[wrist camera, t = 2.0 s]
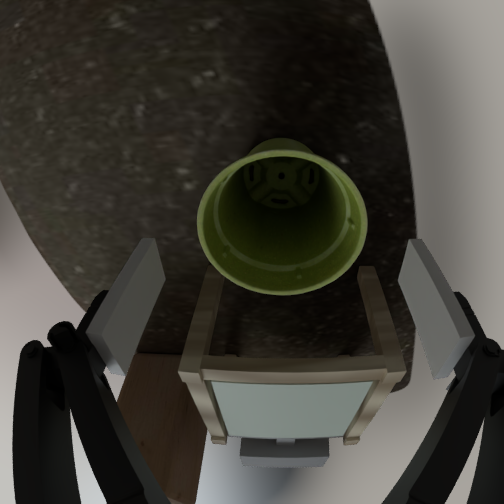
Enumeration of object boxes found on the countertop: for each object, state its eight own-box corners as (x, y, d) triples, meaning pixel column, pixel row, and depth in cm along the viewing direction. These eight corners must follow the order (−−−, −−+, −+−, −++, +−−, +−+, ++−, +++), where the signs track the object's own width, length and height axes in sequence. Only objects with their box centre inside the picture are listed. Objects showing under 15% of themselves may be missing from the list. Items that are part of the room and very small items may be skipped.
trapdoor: (213, 354, 23) (205, 398, 20) (370, 354, 22) (378, 398, 19) (236, 438, 35) (233, 465, 32) (331, 439, 34) (332, 465, 30)
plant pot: (333, 227, 26) (351, 297, 19) (225, 224, 27) (205, 293, 20) (345, 121, 21) (380, 156, 14) (218, 117, 21) (187, 150, 14)
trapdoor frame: (208, 265, 29) (177, 371, 20) (373, 265, 28) (406, 370, 18) (225, 360, 39) (212, 443, 29) (347, 361, 37) (356, 444, 28)
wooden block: (197, 351, 38) (165, 498, 22) (216, 388, 44) (197, 510, 28) (132, 349, 40) (89, 476, 24) (158, 385, 45) (130, 495, 29)
